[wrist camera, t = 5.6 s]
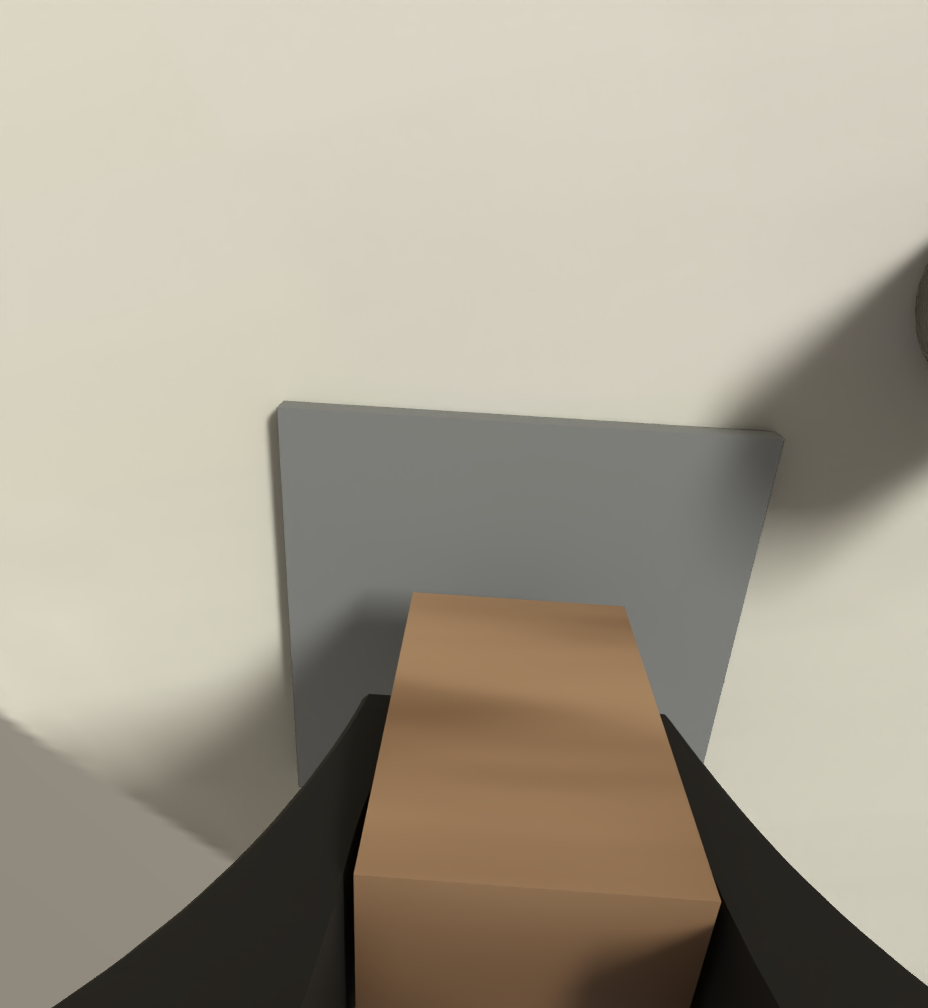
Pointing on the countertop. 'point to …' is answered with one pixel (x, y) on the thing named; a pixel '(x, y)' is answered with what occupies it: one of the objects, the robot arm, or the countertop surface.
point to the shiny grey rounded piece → (922, 313)
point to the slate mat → (512, 541)
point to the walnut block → (527, 820)
